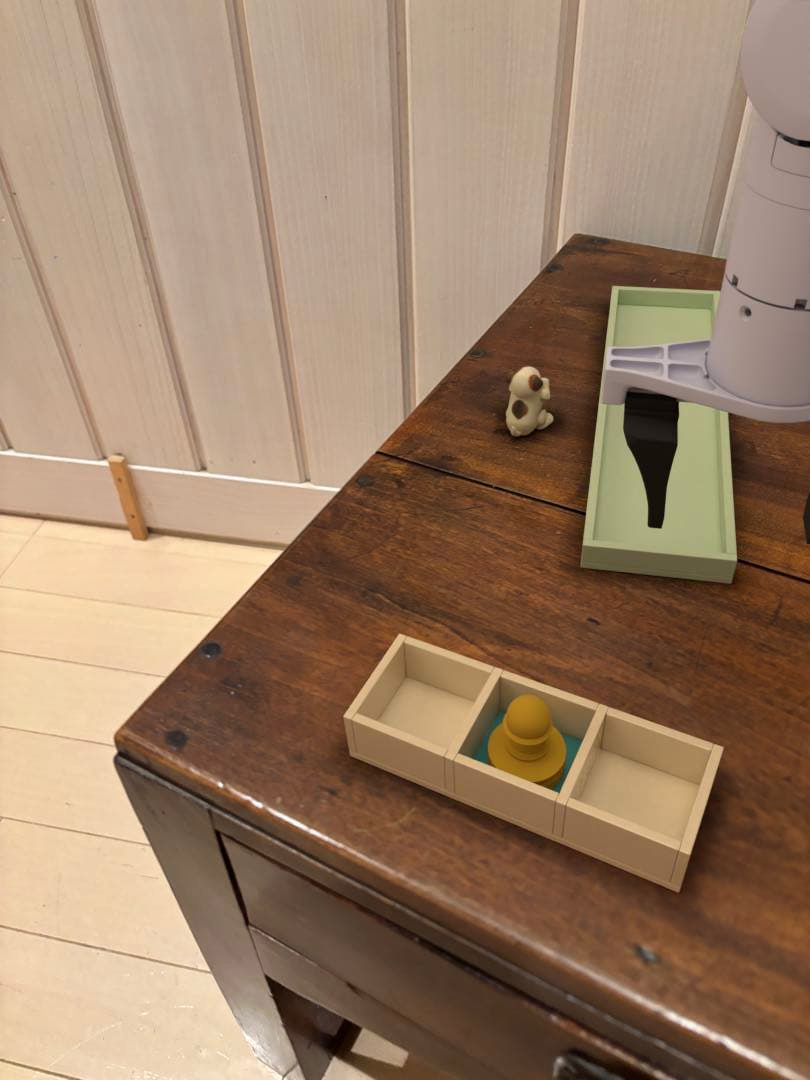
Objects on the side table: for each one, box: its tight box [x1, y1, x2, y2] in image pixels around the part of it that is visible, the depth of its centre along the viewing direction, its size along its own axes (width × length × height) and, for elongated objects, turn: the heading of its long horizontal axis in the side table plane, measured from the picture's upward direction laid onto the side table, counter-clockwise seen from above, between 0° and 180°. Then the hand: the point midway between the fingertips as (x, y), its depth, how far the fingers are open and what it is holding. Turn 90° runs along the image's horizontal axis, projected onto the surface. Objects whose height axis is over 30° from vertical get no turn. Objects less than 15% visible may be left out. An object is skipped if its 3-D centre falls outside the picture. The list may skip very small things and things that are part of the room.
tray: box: [579, 285, 738, 585], centre depth 69 cm, size 34×9×2 cm, turn 168°
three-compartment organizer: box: [342, 633, 725, 893], centre depth 47 cm, size 18×6×4 cm, turn 63°
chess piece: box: [488, 694, 566, 790], centre depth 46 cm, size 4×4×5 cm
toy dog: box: [505, 365, 554, 437], centre depth 69 cm, size 4×5×5 cm
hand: (732, 523), depth 47 cm, fingers open, 7 cm apart
